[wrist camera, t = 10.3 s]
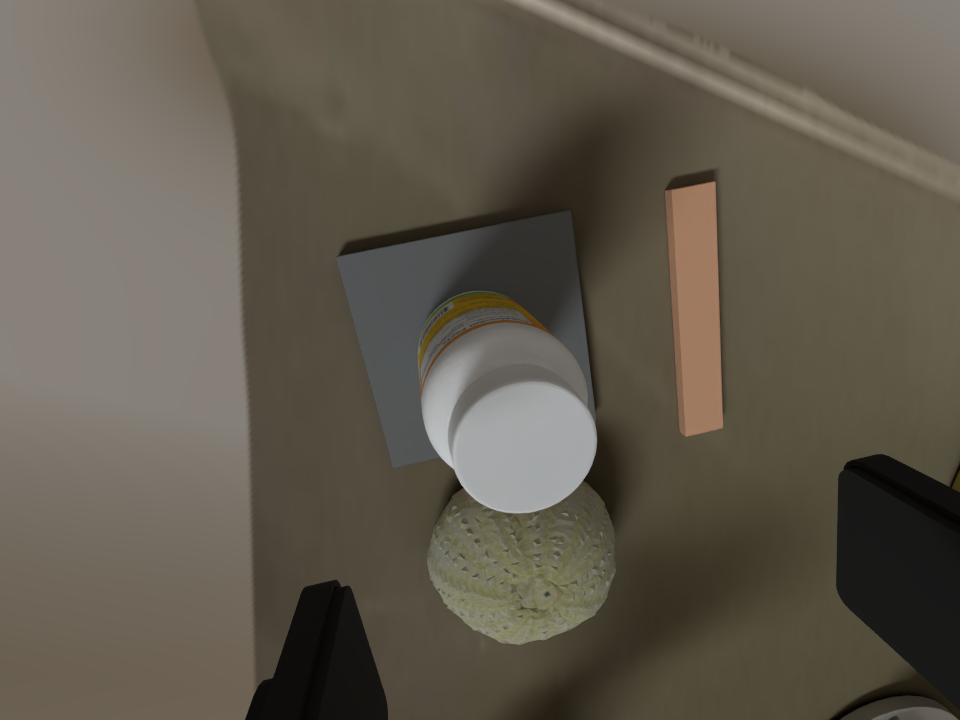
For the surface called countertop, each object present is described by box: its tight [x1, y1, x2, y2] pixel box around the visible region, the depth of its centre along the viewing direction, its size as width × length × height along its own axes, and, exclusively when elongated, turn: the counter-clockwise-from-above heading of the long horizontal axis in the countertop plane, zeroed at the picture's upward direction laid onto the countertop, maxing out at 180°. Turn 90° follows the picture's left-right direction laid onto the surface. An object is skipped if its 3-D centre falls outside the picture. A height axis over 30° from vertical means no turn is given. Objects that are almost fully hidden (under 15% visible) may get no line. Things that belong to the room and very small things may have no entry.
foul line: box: [665, 182, 723, 437], centre depth 24 cm, size 12×2×1 cm, turn 11°
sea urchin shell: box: [426, 481, 617, 645], centre depth 25 cm, size 9×8×8 cm
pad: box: [336, 210, 596, 468], centre depth 23 cm, size 10×10×1 cm
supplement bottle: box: [418, 291, 597, 513], centre depth 18 cm, size 5×5×10 cm
